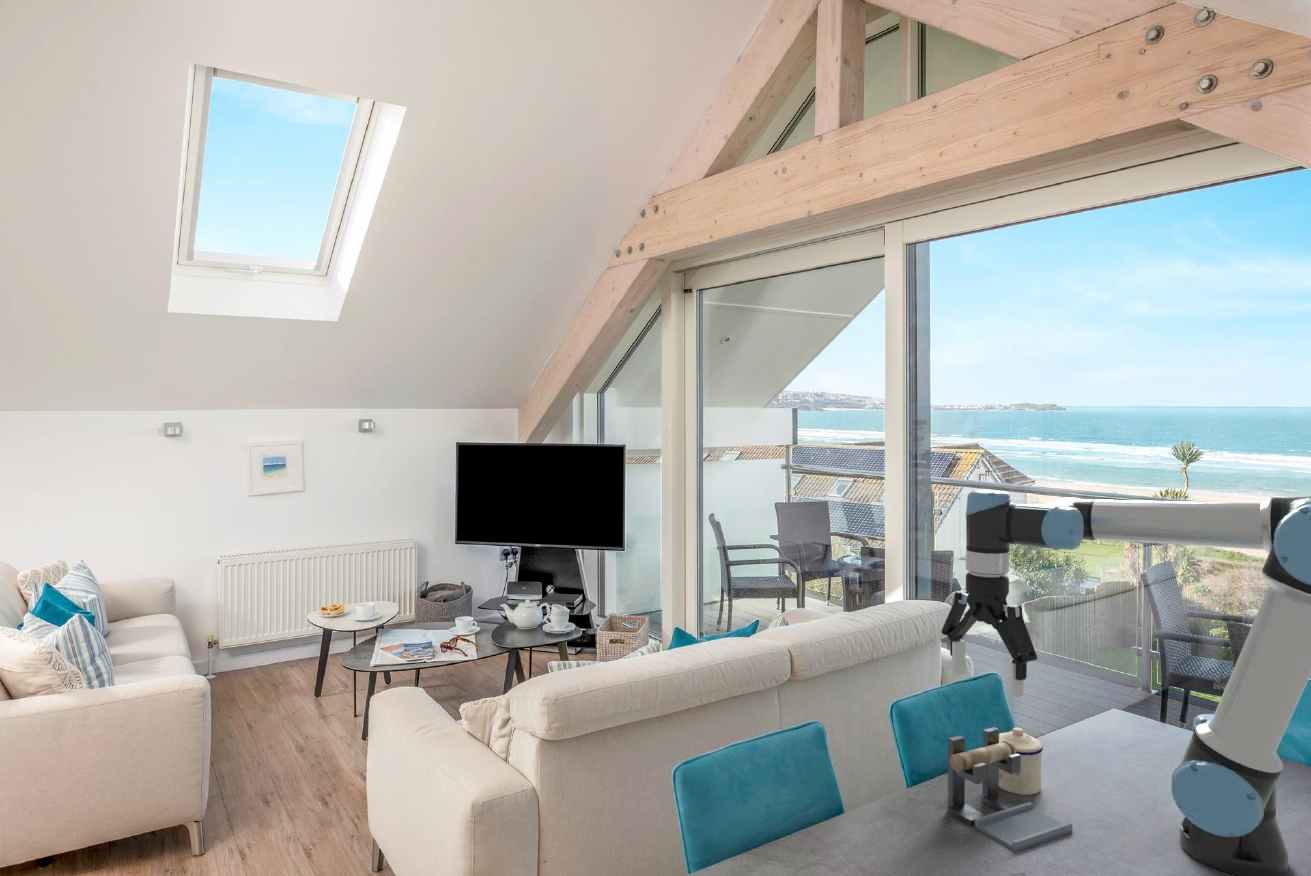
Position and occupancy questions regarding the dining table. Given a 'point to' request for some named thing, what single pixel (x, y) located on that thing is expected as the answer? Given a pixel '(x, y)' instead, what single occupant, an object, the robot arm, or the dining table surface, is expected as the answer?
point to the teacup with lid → (1023, 764)
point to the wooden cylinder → (982, 756)
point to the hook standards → (978, 779)
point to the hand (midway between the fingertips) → (986, 685)
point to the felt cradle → (1021, 826)
